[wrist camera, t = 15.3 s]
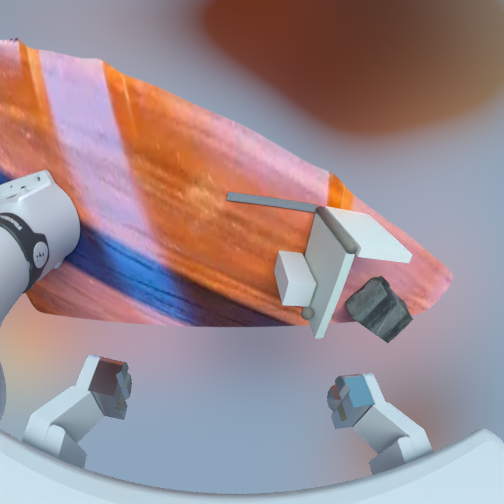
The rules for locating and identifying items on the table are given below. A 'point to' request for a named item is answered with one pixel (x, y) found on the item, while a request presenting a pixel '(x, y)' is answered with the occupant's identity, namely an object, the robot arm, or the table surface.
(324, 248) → the door
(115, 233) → the table surface
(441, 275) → the table surface
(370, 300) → the stone block
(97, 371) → the robot arm
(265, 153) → the table surface
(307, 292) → the light grey block
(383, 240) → the wall
